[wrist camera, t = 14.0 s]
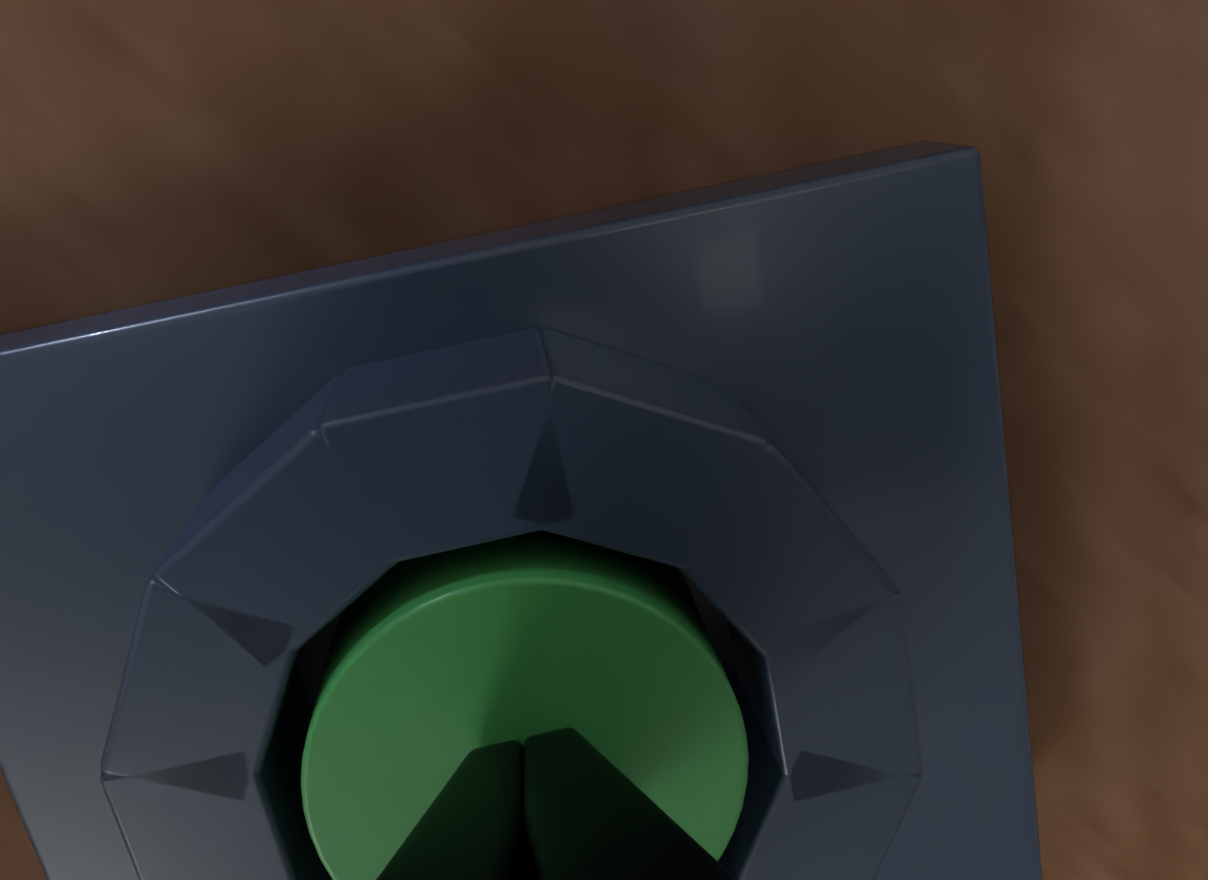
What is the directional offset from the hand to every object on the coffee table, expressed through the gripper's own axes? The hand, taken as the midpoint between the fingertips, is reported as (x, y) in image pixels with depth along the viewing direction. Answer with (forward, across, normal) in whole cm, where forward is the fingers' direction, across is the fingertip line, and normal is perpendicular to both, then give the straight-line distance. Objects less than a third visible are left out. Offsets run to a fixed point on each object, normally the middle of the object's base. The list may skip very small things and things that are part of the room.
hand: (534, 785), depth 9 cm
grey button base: (+3, 0, 0) cm, 3 cm away
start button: (+2, 0, 0) cm, 2 cm away
